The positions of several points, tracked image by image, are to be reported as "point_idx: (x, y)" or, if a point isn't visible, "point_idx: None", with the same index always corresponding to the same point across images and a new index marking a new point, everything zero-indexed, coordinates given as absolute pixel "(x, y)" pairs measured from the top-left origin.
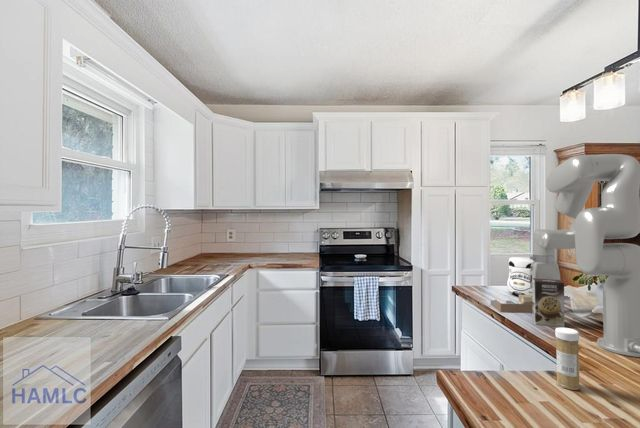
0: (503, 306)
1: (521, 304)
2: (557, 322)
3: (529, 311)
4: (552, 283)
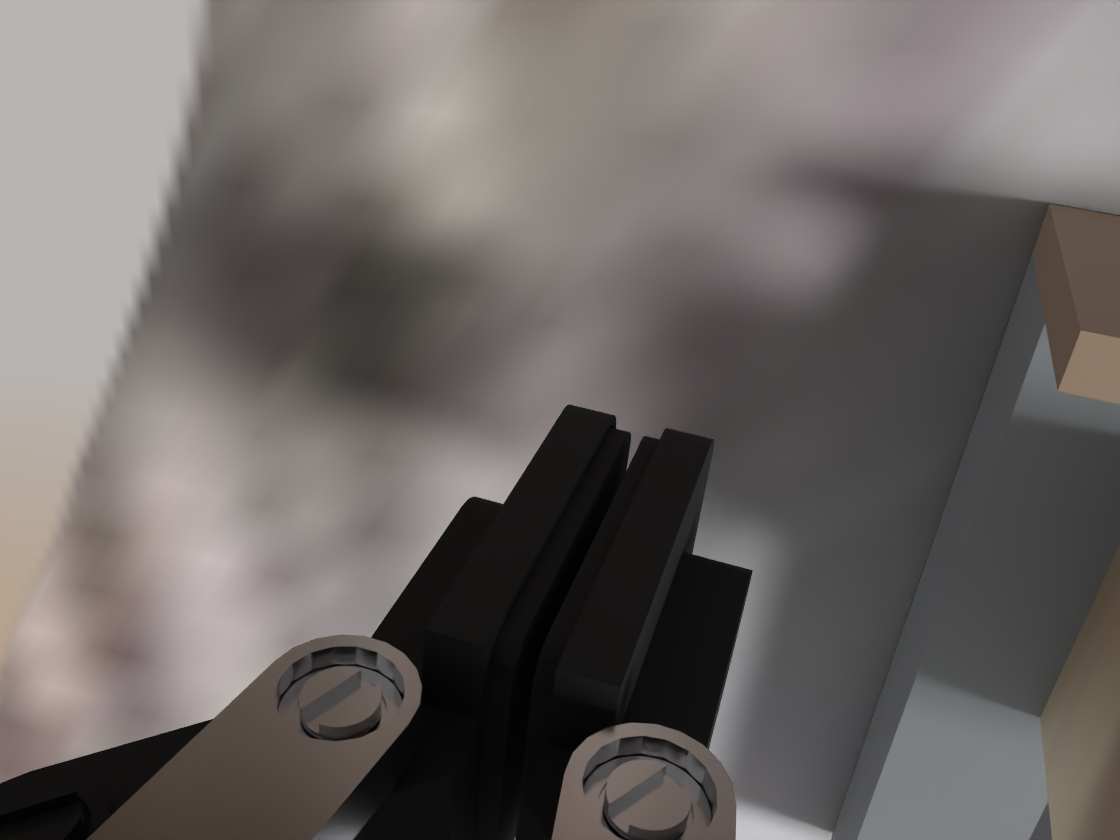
0: None
1: None
2: None
3: None
4: None
